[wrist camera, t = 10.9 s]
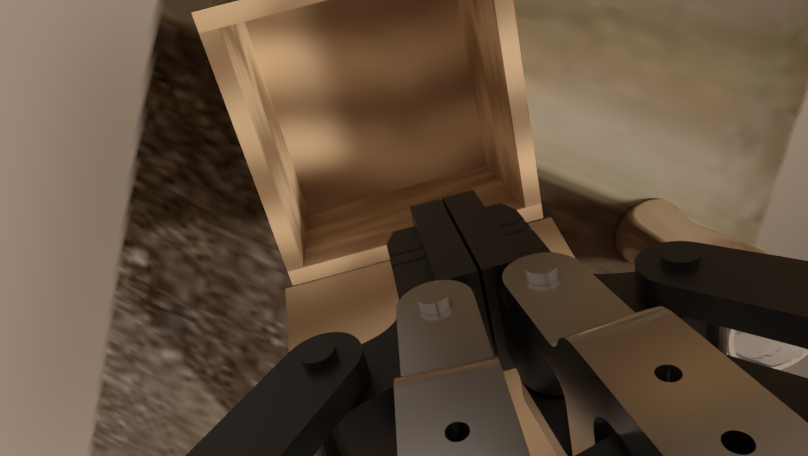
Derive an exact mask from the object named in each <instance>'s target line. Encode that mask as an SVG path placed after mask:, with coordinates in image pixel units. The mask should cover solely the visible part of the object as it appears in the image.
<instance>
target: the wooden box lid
mask: <svg viewBox="0 0 808 456" xmlns="http://www.w3.org/2000/svg"><path fill="white" fill-rule="evenodd" d="M528 224H529V226H530V227H531V229H532V230H534V232H535V233H536V234H537V235H538V236H539V238H540V239H541V240H542V241H543V242H544V244H545V245H546V246H547V247H548V248H549V250H550V251H551V252H553V253H561V254H565V255H568V256H571V257H573V258H575V257H574V255H573V253H572V252H571V250H570V248H569V247H568V245H567V243H566V242H565V240H564V238H563V236H562V235H561V233H560V231H559V230H558V228H557V226H556V225H555V223H554V221H553V219H552V218H551V217H549V218H546V219H542V220H538V221H535V222H531V223H528ZM285 290H286V308H287V327H288V345H289V352H290V351H291V350H292V349H293V348H294V347H296V346H297V345H298V344H300V343H302V342H303V341H305V340H307V339H309V338H311V337H314V336H316V335H319V334H323V333H329V332H345V333H349V334H351V335H353V336H355V337H356V338H357V339H358V340H359V341H360V343H361V344H363V343H365V342H367V341H369V340H371V339H373V338H374V337H376V336H378V335H380V334H381V333H383V332H384V331H385V330H387V329H388V328H389V327H390V326H391V325H392V324H393V323H394V321H395V320H396V318H397V317H396V306H397V304H398V302H399V298H398V293H397V289H396V284H395V280H394V275H393V271H392V266H391V262H390V261H386V262H383V263H379V264H375V265H372V266H368V267H364V268H360V269H357V270H353V271H349V272H346V273H342V274H338V275H334V276H331V277H327V278H323V279H320V280H316V281H312V282H309V283H305V284H301V285H297V286H294V287H290V288H286V289H285ZM503 374H504V377H505V380H506V383H507V386H508V389H509V392H510V395H511V398H512V401H513V404H514V407H515V410H516V413H517V416H518V419H519V422H520V425H521V428H522V431H523V434H524V437H525V441H526V444H527V447H528V450H529V453H530V456H557V455H556V453H555V451H554V449H553V448H552V446H551V444H550V443H549V441H548V439H547V438H546V436H545V434H544V433H543V431H542V429H541V427H540V426H539V424H538V422H537V421H536V419H535V417H534V416H533V414H532V412H531V411H530V409H529V407H528V405H527V404H526V402H525V400H524V397H523V392H522V386H521V381H520V376H519V374H518V372H517V370H516V368H514V369H511V370H507V371H503ZM314 456H315V455H314Z"/></svg>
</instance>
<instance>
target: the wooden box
mask: <svg viewBox="0 0 808 456" xmlns="http://www.w3.org/2000/svg"><path fill="white" fill-rule="evenodd" d="M191 13H192V16H193V19H194V22H195V24H196V27H197V30H198V32H199V35H200V38H201V40H202V43H203V46H204V48H205V51H206V54H207V56H208V59H209V62H210V65H211V67H212V70H213V73H214V75H215V78H216V81H217V83H218V86H219V89H220V91H221V94H222V97H223V99H224V102H225V105H226V107H227V110H228V113H229V116H230V118H231V121H232V124H233V126H234V129H235V132H236V134H237V137H238V140H239V142H240V145H241V148H242V150H243V153H244V156H245V159H246V161H247V164H248V167H249V169H250V172H251V175H252V177H253V180H254V183H255V185H256V188H257V191H258V193H259V196H260V199H261V202H262V204H263V207H264V210H265V212H266V215H267V218H268V220H269V223H270V226H271V228H272V231H273V234H274V236H275V239H276V242H277V244H278V247H279V250H280V253H281V255H282V258H283V261H284V263H285V266H286V269H287V271H288V274H289V277H290V279H291V282H292V285H297V284H301V283H304V282H308V281H312V280H315V279H319V278H323V277H327V276H330V275H334V274H338V273H341V272H345V271H349V270H353V269H356V268H360V267H364V266H367V265H371V264H375V263H378V262H382V261H386V260H390V257H389V253H388V249H387V242H388V241H389V239H390V237H391V235H392V233H393V232H394V231H398V230H402V229H406V228H409V227H413V226H414V224H413V220H412V215H411V211H410V206H412V205H416V204H420V203H423V202H427V201H431V200H435V199H438V198H440V199H441V201H442V197H445V196H449V195H453V194H457V193H460V192H464V191H468V190H474V192H475V193H476V195H477V196H478V198H479V199H480V200H481V202H482V203H483V205H484V206H485V207H487V206H491V205H495V204H498V203H501V204H504V205H506V206H509V207H511V208H514V209H516V210H517V211H518V212H519V214H520V215H521V216H522V217H523V218H524V220H525V221H526V222H530V221H534V220H538V219H542V218H543V212H542V205H541V197H540V190H539V183H538V176H537V169H536V161H535V154H534V147H533V140H532V132H531V125H530V118H529V111H528V104H527V96H526V89H525V82H524V75H523V68H522V60H521V53H520V46H519V39H518V32H517V24H516V17H515V10H514V3H513V0H238V1H234V2H230V3H226V4H222V5H218V6H215V7H211V8H207V9H203V10H199V11H195V12H191Z"/></svg>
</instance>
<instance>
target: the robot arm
mask: <svg viewBox="0 0 808 456" xmlns="http://www.w3.org/2000/svg"><path fill="white" fill-rule="evenodd" d="M410 211H411V215H412V220H413V224H414V226H413V227H409V228H406V229H402V230H398V231H394V232H393V233H392V235H391V237H390V239H389V241H388V242H387V249H388V253H389V257H390V262H391V266H392V271H393V275H394V280H395V284H396V289H397V293H398V298H399V302H398V304H397V306H396V317H397V318H396V320H395V321H394V323H393V324H392V325H391V326H390V327H389V328H388V329H387V330H385V331H384V332H383V333H381V334H380V335H378V336H376V337H374V338H373V339H371V340H369V341H367V342H365V343H363V344H361V343H360V341H359V340H358V339H357V338H356V337H355V336H353V335H351V334H349V333H345V332H329V333H323V334H319V335H316V336H314V337H311V338H309V339H307V340H305V341H303V342H302V343H300V344H298V345H297V346H296V347H294V348H293V349H292V350H291V351H290V352H289V353H288V354H287V355H286V356H285V357H284V358H283V359H282V360H281V361H280V362H279V363H278V364H277V365H276V366H275V367H274V368H273V369H272V370H271V371H270V372H269V373H268V374H267V375H266V376H265V377H264V378H263V379H262V380H261V381H260V382H259V383H258V384H257V385H256V386H255V387H254V388H253V389H252V390H251V391H250V392H249V393H248V394H247V395H246V396H245V397H244V398H243V399H242V400H241V401H240V402H239V403H238V404H237V405H236V406H235V407H234V408H233V409H232V410H231V411H230V412H229V413H228V414H227V415H226V416H225V417H224V418H223V419H222V420H221V421H220V422H219V423H218V424H217V425H216V426H215V427H214V428H213V429H212V430H211V431H210V432H209V433H208V434H207V435H206V436H205V437H204V438H203V439H202V440H201V441H200V442H199V443H198V444H197V445H196V446H195V447H194V448H193V449H192V450H191V451H190V452H189V453H188V454H187V455H186V456H314V455H315V456H530V453H529V450H528V447H527V444H526V441H525V437H524V434H523V431H522V428H521V425H520V422H519V419H518V416H517V413H516V410H515V407H514V404H513V401H512V398H511V395H510V392H509V389H508V386H507V383H506V380H505V377H504V374H503V371H507V370H511V369H514V368H516V370H517V372H518V374H519V376H520V381H521V386H522V392H523V397H524V400H525V402H526V404H527V405H528V407H529V409H530V411H531V412H532V414H533V416H534V417H535V419H536V421H537V422H538V424H539V426H540V427H541V429H542V431H543V433H544V434H545V436H546V438H547V439H548V441H549V443H550V444H551V446H552V448H553V449H554V451H555V453H556V455H557V456H808V378H804V377H801V376H797V375H794V374H791V373H787V372H784V371H781V370H777V369H774V368H770V367H767V366H764V365H760V364H757V363H753V362H750V361H747V360H743V359H740V358H736V357H733V356H730V355H727V333H728V328H729V329H733V330H737V331H741V332H744V333H748V334H752V335H756V336H760V337H763V338H767V339H771V340H775V341H779V342H782V343H786V344H790V345H794V346H798V347H801V348H805V349H808V261H804V260H798V259H792V258H787V257H781V256H774V255H769V254H763V253H757V252H751V251H745V250H739V249H733V248H728V247H722V246H716V245H710V244H704V243H698V242H691V241H670V242H663V243H658V244H655V245H652V246H649V247H647V248H645V249H644V250H642V251H641V252H640V253H639V254H638V255H637V256H636V258H635V261H634V262H635V272H627V273H614V274H592V273H591V272H590V271H589V270H588V269H587V268H586V267H584V266H583V265H582V264H581V263H580V262H579V261H578V260H576V259H575V258H573V257H571V256H568V255H565V254H561V253H553V252H551V251H550V250H549V248H548V247H547V246H546V245H545V244H544V242H543V241H542V240H541V239H540V238H539V236H538V235H537V234H536V233H535V232H534V230H532V229H531V227H530V226H529V224H528V223H527V222H526V221H525V220H524V218H523V217H522V216H521V215H520V214H519V212H518V211H517V210H516V209H514V208H511V207H509V206H506V205H504V204H501V203H498V204H495V205H491V206H487V207H485V206H484V205H483V203H482V202H481V200H480V199H479V198H478V196H477V195H476V193H475V192H474V190H468V191H464V192H460V193H457V194H453V195H449V196H445V197H442V201H441V199H440V198H438V199H435V200H431V201H427V202H423V203H420V204H416V205H412V206H410Z"/></svg>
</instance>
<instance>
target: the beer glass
mask: <svg viewBox="0 0 808 456" xmlns="http://www.w3.org/2000/svg"><path fill="white" fill-rule="evenodd" d="M670 241H691V242H698V243H704V244H710V245H716V246H722V247H728V248H733V249H739V250H745V251H751V252H757V253H763V254H769V253H767V252H765V251H763V250H762V249H760V248H758V247H756V246H754V245H752V244H750V243H747V242H745V241H743V240H740V239H738V238H735V237H732V236H729V235H726V234H723V233H720V232H717V231H714V230H711V229H708V228H705V227H703V226H700V225H698V224H696V223H694V222H692V221H691V220H690V219H688V218H687V216H686V215H685V214H684V213H683V212H682V211H681V210H680V209H679V208H678V207H677V206H676V205H674V204H673V203H671V202H669V201H666V200H661V199H652V200H647V201H644V202H642V203H640V204H638V205H636V206H634V207H633V208H632V209H630V210H629V211H628V212H627V213H626V214H625V215H624V217H623V218H622V220H621V221H620V223H619V225H618V227H617V230H616V235H615V243H616V247H617V250H618V252H619V253H620V255H621V256H622V257H623V258H624V259H625V260H626V261H628V262H630V263H631V264H633V265H635V262H634V261H635V258H636V256H637V255H638V254H639V253H640V252H641V251H642V250H644V249H645V248H647V247H649V246H652V245H655V244H658V243H663V242H670ZM769 255H771V254H769ZM807 354H808V349H805V348H801V347H798V346H794V345H790V344H786V343H782V342H779V341H775V340H771V339H767V338H763V337H760V336H756V335H752V334H748V333H744V332H741V331H737V330H733V329H729V328H728V333H727V355H730V356H733V357H736V358H740V359H743V360H747V361H750V362H753V363H757V364H760V365H764V366H767V367H770V368H774V369H777V370H781V369H784V368H786V367H789V366H790V365H792V364H794V363H796V362H798V361H799V360H801V359H802V358H803V357H805V356H806V355H807Z"/></svg>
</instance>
